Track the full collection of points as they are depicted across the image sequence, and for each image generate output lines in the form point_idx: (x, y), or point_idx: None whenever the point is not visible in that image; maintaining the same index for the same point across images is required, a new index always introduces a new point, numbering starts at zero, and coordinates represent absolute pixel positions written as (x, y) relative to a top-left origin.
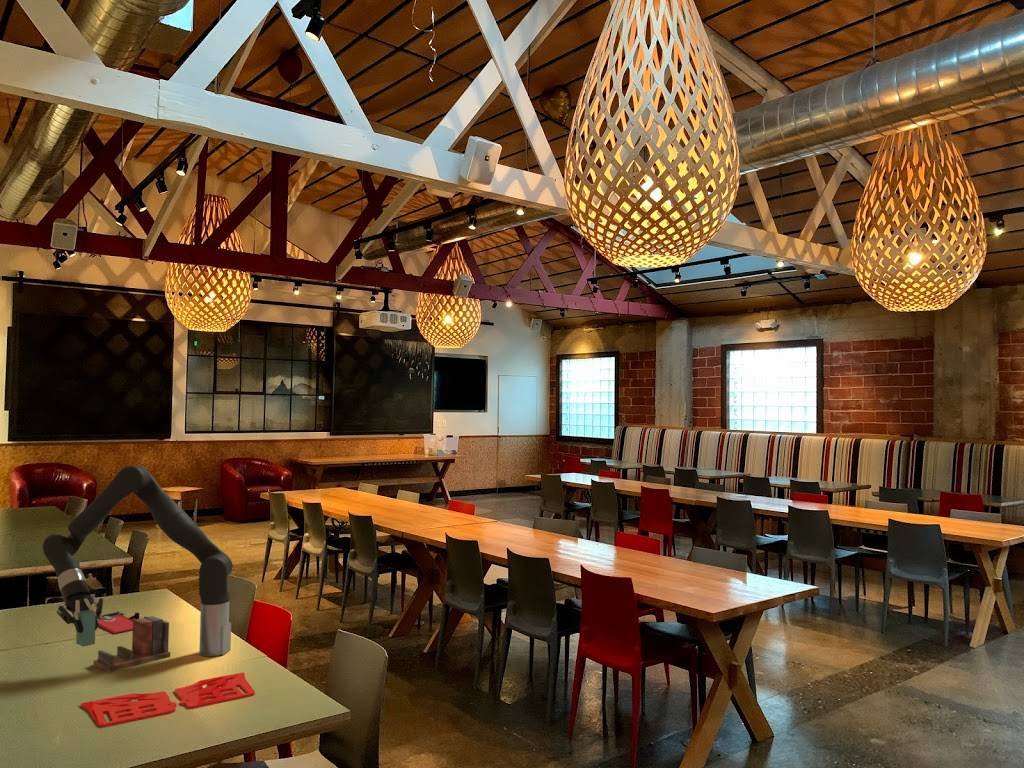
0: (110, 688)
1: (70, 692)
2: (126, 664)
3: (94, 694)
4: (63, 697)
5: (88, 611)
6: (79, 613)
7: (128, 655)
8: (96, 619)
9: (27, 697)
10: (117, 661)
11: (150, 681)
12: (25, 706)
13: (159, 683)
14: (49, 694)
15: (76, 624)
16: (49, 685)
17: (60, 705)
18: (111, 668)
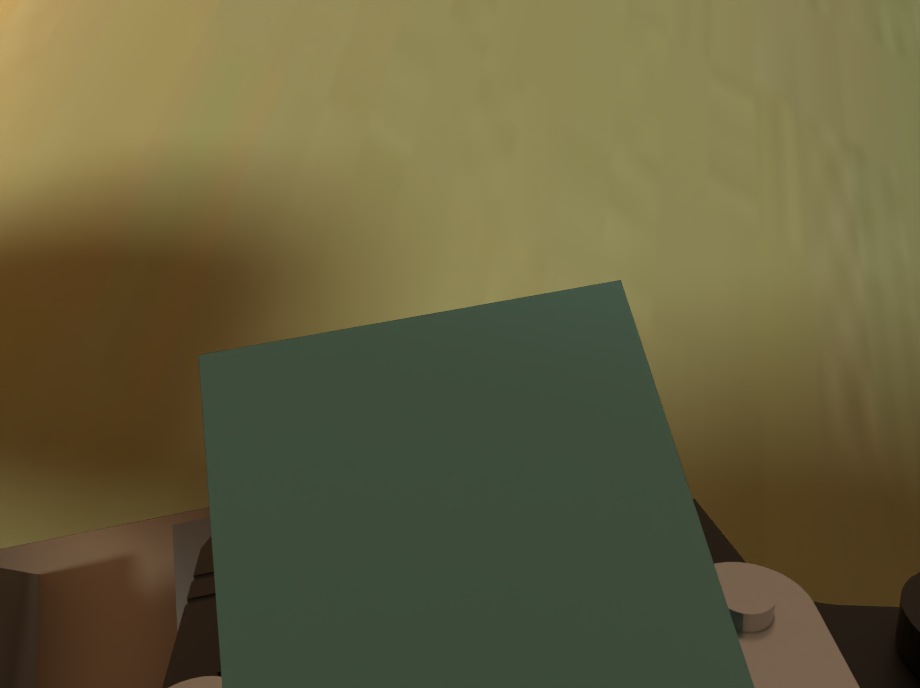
0: (380, 122)
1: (620, 198)
2: (95, 532)
3: (491, 78)
4: (667, 134)
5: (385, 663)
6: (739, 684)
7: (6, 605)
8: (183, 662)
9: (892, 270)
10: (130, 654)
11: (128, 100)
12: (882, 115)
13: (105, 36)
14: (751, 241)
15: (713, 523)
16: (755, 452)
17: (689, 22)
18: None
